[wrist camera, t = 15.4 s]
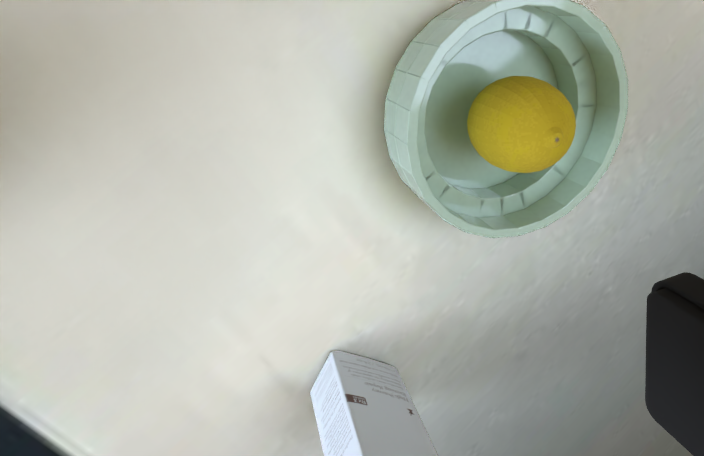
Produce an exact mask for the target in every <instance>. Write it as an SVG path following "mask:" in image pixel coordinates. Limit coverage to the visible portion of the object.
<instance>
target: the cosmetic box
mask: <svg viewBox="0 0 704 456" xmlns="http://www.w3.org/2000/svg"><path fill="white" fill-rule="evenodd" d="M310 395H311V399H312V403H313V408H314V412H315V416H316V421H317V426H318V430H319V435H320V440H321V444H322V448H323V452H324V456H438V454H437V452H436V450H435V448H434V446H433V444H432V441H431V439H430V437H429V435H428V433H427V431H426V429H425V427H424V425H423V422H422V420H421V418H420V416H419V414H418V412H417V410H416V408H415V406H414V403H413V401H412V399H411V397H410V395H409V393H408V391H407V389H406V386H405V384H404V382H403V380H402V378H401V376H400V374H399V372H398V370H397V369H396V368H395V367H393V366H391V365H388V364H385V363H382V362H379V361H376V360H373V359H369V358H366V357H362V356H358V355H354V354H350V353H346V352H342V351H337V350H334V351H331V353H330V354H329V356H328V358H327V360H326V362H325V363H324V366H323V367H322V370H321V371H320V373H319V375H318V377H317V379H316V381H315V383H314V385H313V387H312V390H311V392H310Z"/></svg>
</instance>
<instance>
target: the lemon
mask: <svg viewBox="0 0 704 456" xmlns="http://www.w3.org/2000/svg"><path fill="white" fill-rule="evenodd" d="M467 129H468V134H469V138H470V141H471V143H472V145H473V146H474V148H475V149H476V151H477V152H478V154H479V155H480V156H481V157H483V158H484V159H485V160H486V161H487V162H489V163H490V164H491V165H493V166H496V167H498V168H501V169H503V170H506V171H510V172H518V173H531V172H537V171H542V170H544V169H546V168H548V167H551V166H552V165H554V164H555V163H556V162H558V161H559V160H560V159H561V158H562V157H563V156H564V155H565V154H566V153H567V151H568V149H569V148H570V146H571V144H572V142H573V139H574V136H575V130H576V120H575V114H574V111H573V108H572V106H571V104H570V102H569V101H568V100H567V98H566V97H565V96H564V94H563V93H562V92H560V91H559V90H558V89H556V88H555V87H554V86H552V85H551V84H549V83H548V82H545V81H543V80H540V79H537V78H534V77H530V76H509V77H506V78H502V79H499V80H496V81H495V82H493V83H491V84H489V85H488V86H486V87H485V88H484V89H483V90H482V91H481V92H480V93H479V94H478V95H477V97H476V98H475V99H474V101H473V103H472V105H471V107H470V110H469V113H468V119H467Z"/></svg>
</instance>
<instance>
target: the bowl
mask: <svg viewBox="0 0 704 456" xmlns="http://www.w3.org/2000/svg"><path fill="white" fill-rule="evenodd" d="M509 76H530V77H534V78H537V79H540V80H543V81H545V82H548V83H549V84H551V85H552V86H554V87H555V88H556V89H558V90H559V91H560V92H562V93H563V94H564V96H565V97H566V98H567V100H568V101H569V102H570V104H571V106H572V108H573V111H574V114H575V120H576V130H575V136H574V139H573V142H572V144H571V146H570V148H569V149H568V151H567V153H566V154H565V155H564V156H563V157H562V158H561V159H560V160H559V161H558V162H556V163H555V164H554V165H552V166H551V167H548V168H546V169H544V170H542V171H537V172H531V173H518V172H510V171H506V170H503V169H501V168H498V167H496V166H493V165H491V164H490V163H489V162H487V161H486V160H485V159H484V158H483V157H481V156H480V155H479V154H478V152H477V151H476V149H475V148H474V146H473V145H472V143H471V141H470V138H469V134H468V129H467V119H468V113H469V110H470V107H471V105H472V103H473V101H474V99H475V98H476V97H477V95H478V94H479V93H480V92H481V91H482V90H483V89H484V88H485V87H486V86H488V85H489V84H491V83H493V82H495V81H496V80H499V79H502V78H506V77H509ZM627 109H628V79H627V74H626V70H625V66H624V62H623V58H622V54H621V51H620V48H619V47H618V45H617V43H616V42H615V40H614V38H613V36H612V35H611V33H610V31H609V30H608V28H607V26H606V25H605V24H604V23H603V22H602V21H601V20H599V19H598V18H597V17H596V16H595V15H594V14H593V13H592V12H590V11H589V10H588V9H587V8H586V7H584V6H583V5H581V4H578V3H576V2H573V1H571V0H467V1H464V2H461V3H458V4H457V5H455V6H453V7H452V8H450V9H448V10H447V11H445V12H443V13H442V14H440V15H438V16H437V17H435V18H434V19H432V20H431V21H430V22H429V23H428V24H427V26H426V27H425V28H424V29H423V30H422V31H421V32H420V33H419V34H418V35H417V36H416V37H415V38H414V39H413V40H412V42H410V44H409V46H408V47H407V49H406V51H405V52H404V54H403V56H402V57H401V59H400V61H399V63H398V64H397V66H396V68H395V70H394V73H393V77H392V80H391V83H390V86H389V90H388V93H387V96H386V100H385V117H384V132H385V137H386V142H387V147H388V152H389V156H390V159H391V161H392V163H393V165H394V166H395V168H396V170H397V172H398V174H399V176H400V178H401V180H402V181H403V182H404V183H405V184H406V185H407V186H408V187H409V188H410V189H411V191H412V192H413V193H414V194H415V195H416V196H417V197H418V198H419V199H420V200H422V201H423V202H424V203H425V204H426V205H427V206H428V207H429V208H430V209H432V210H433V211H434V212H435V213H436V214H437V215H438V216H439V217H440V218H442V219H443V220H444V221H446V222H448V223H449V224H451V225H453V226H455V227H457V228H458V229H460V230H462V231H464V232H467V233H470V234H474V235H479V236H484V237H489V238H499V237H513V236H520V235H523V234H526V233H529V232H532V231H535V230H538V229H541V228H544V227H546V226H548V225H550V224H551V223H553V222H554V221H556V220H558V219H559V218H561V217H563V216H564V215H566V214H568V213H569V212H570V211H571V210H572V209H573V208H574V207H575V206H577V205H578V204H579V203H580V202H581V201H582V200H583V199H584V198H585V197H586V196H587V195H588V194H589V193H590V192H591V191H592V190H593V189H594V187H595V186H596V184H597V183H598V182H599V180H600V179H601V177H602V176H603V174H604V173H605V172H606V170H607V169H608V167H609V165H610V163H611V160H612V158H613V156H614V154H615V152H616V149H617V147H618V145H619V143H620V140H621V137H622V133H623V128H624V124H625V119H626V115H627Z"/></svg>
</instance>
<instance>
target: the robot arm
mask: <svg viewBox="0 0 704 456" xmlns="http://www.w3.org/2000/svg"><path fill="white" fill-rule="evenodd" d="M645 401H646V406H647V409H648V411H649V413H650V414H651V416H652V417H653V418H654V419H655V421H656V422H657V423H659V424H660V425H661V426H662V427H663V428H664V429H665V430H666V431H667V432H668V433H669V434H671V435H672V436H673V437H674V438H675V439H676V440H677V441H678V442H679V443H680V444H681V445H683V446H684V447H685V448H686V449H687V450H688V451H689V452H690V453H691V454H692V455H693V456H704V280H703V279H701V278H700V277H698V276H696V275H694V274H691V273H681V274H678V275H676V276H673V277H670V278H667V279H665V280H662V281H659V282H657V283H655V284H654V286H653V287H652V292H651V293H650V294H649V295H648V297H647V326H646V388H645Z"/></svg>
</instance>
